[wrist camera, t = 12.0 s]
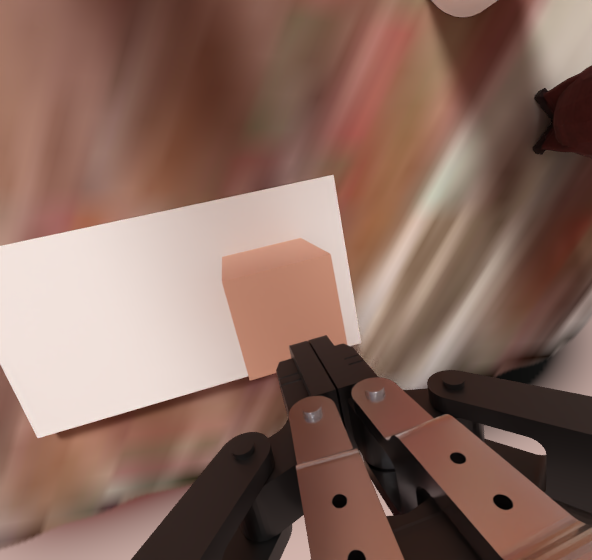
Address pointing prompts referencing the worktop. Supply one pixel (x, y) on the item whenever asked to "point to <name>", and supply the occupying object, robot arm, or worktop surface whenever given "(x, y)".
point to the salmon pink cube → (281, 301)
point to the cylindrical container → (463, 6)
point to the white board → (146, 302)
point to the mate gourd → (568, 116)
